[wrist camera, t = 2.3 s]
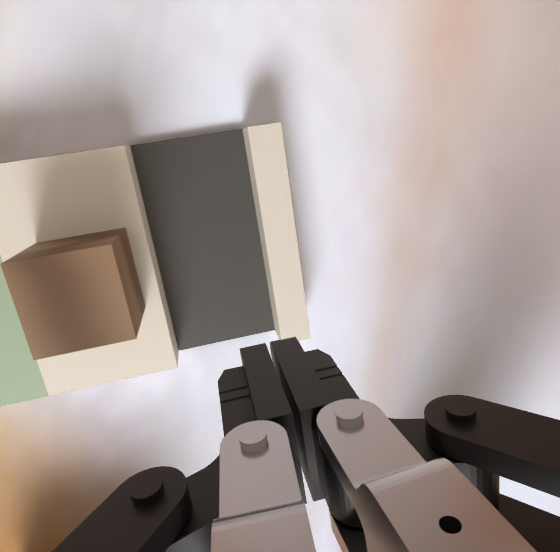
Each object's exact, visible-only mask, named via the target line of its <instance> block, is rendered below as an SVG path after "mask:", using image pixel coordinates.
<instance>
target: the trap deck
mask: <svg viewBox="0 0 560 552" xmlns="http://www.w3.org/2000/svg"><path fill="white" fill-rule="evenodd" d="M125 227H126V231H127V234H128V238H129V242H130V246H131V250H132V254H133V258H134V262H135V266H136V270H137V274H138V278H139V282H140V286H141V290H142V294H143V298H144V302H145V306H146V307H145V311H144V314H143V318H142V321H141V324H140V328H139V331H138V335H137V338H136V339H134V340H129V341H124V342H119V343H115V344H110V345H105V346H100V347H95V348H91V349H86V350H81V351H76V352H71V353H67V354H62V355H57V356H52V357H47V358H43V359H38V360H33V357H32V354H31V352H30V349H29V346H28V343H27V340H26V337H25V334H24V331H23V328H22V326H21V323H20V320H19V317H18V314H17V311H16V308H15V305H14V302H13V300H12V297H11V294H10V291H9V288H8V285H7V282H6V279H5V276H4V274H3V271H2V268H1V265H0V406H5V405H9V404H14V403H19V402H23V401H28V400H32V399H37V398H41V397H46V396H50V395H55V394H59V393H64V392H68V391H73V390H78V389H82V388H87V387H91V386H96V385H100V384H105V383H109V382H114V381H118V380H123V379H127V378H132V377H137V376H141V375H146V374H150V373H155V372H159V371H164V370H168V369H173V368H177V366H178V351H179V350H183V349H188V348H193V347H197V346H202V345H206V344H211V343H216V342H220V341H225V340H230V339H234V338H239V337H244V336H248V335H253V334H258V333H262V332H267V331H272V330H275V331H276V333H277V335H278V337H279V339H280V340H282V339H286V338H291V337H296V338H297V340H298V341H300V340H304V339H309V338H311V337H310V330H309V323H308V315H307V308H306V301H305V294H304V286H303V279H302V272H301V264H300V257H299V250H298V242H297V235H296V228H295V221H294V213H293V206H292V199H291V191H290V184H289V177H288V170H287V162H286V155H285V148H284V140H283V133H282V126H281V122H278V123H272V124H265V125H258V126H251V127H246V128H244V129H240V130H233V131H227V132H220V133H213V134H206V135H200V136H193V137H186V138H179V139H173V140H166V141H159V142H152V143H146V144H139V145H132V146H127V145H123V146H116V147H109V148H102V149H95V150H89V151H82V152H75V153H68V154H62V155H55V156H48V157H41V158H35V159H28V160H21V161H14V162H7V163H1V164H0V264H1V263H3V262H5V261H6V260H8V259H10V258H11V257H13V256H15V255H16V254H18V253H20V252H21V251H23V250H25V249H27V248H28V247H30V246H32V245H33V244H35V243H38V242H44V241H50V240H56V239H61V238H67V237H73V236H79V235H85V234H90V233H96V232H102V231H108V230H113V229H119V228H125Z"/></svg>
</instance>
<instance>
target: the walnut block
mask: <svg viewBox="0 0 560 552" xmlns="http://www.w3.org/2000/svg"><path fill="white" fill-rule="evenodd" d="M0 265H1V268H2V271H3V274H4V276H5V279H6V282H7V285H8V288H9V291H10V294H11V297H12V300H13V302H14V305H15V308H16V311H17V314H18V317H19V320H20V323H21V326H22V328H23V331H24V334H25V337H26V340H27V343H28V346H29V349H30V352H31V354H32V357H33V360H38V359H43V358H47V357H52V356H57V355H62V354H67V353H71V352H76V351H81V350H86V349H91V348H95V347H100V346H105V345H110V344H115V343H119V342H124V341H129V340H134V339H136V338H137V335H138V331H139V328H140V324H141V321H142V318H143V314H144V311H145V307H146V306H145V302H144V298H143V294H142V290H141V286H140V282H139V278H138V274H137V270H136V266H135V262H134V258H133V254H132V250H131V246H130V242H129V238H128V234H127V231H126V227H125V228H119V229H113V230H108V231H102V232H96V233H90V234H85V235H79V236H73V237H67V238H61V239H56V240H50V241H44V242H38V243H35V244H33V245H32V246H30V247H28V248H27V249H25V250H23V251H21V252H20V253H18V254H16V255H15V256H13V257H11V258H10V259H8V260H6V261H5V262H3V263H1V264H0Z"/></svg>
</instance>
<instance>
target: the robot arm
mask: <svg viewBox="0 0 560 552" xmlns="http://www.w3.org/2000/svg"><path fill="white" fill-rule="evenodd" d="M270 349H271V355H272V359H271V357H270V354H269V351H268V349H267V346H266V344H265V343H264V344H259V345H254V346H250V347H245V348H241V349H240V353H241V359H242V364H243V366H240V367H236V368H232V369H227V370H224V372H223V373H222V375H221V377H220V378H219V380H218V388H219V396H220V403H221V404H220V405H221V413H222V422H223V430H224V438H223V440H222V442H221V444H220V454H219V456H218V457H217V458H216V459H215V460H214V461H213V462H212V463H211V464H210V465H208V466H207V467H205V468H204V469H202V470H200V471H199V472H197V473H195V474H193V475H191V476H189V477H187V478H185V476H184V474H183V473H182V472H181V471H179V470H178V469H176V468H173V467H165V466H161V467H154V468H150V469H147V470H144V471H141V472H139V473H137V474H135V475H133V476H132V477H130V478H129V479H127V480H126V481H125V482H124V483H122V484H121V485H120V486H119V487H118V488H117V489H116V490H115V491H114V492H113V493H112V494H111V495H110V496H109V497H108V498H107V499H106V500H105V501H104V502H103V503H102V504H101V505H100V506H99V507H98V508H97V509H96V510H94V511H93V512H92V513H91V514H90V515H89V516H88V517H87V518H86V519H85V520H84V521H83V522H82V523H81V524H80V525H79V526H78V527H77V528H76V529H75V530H74V531H73V532H72V533H71V534H70V535H69V536H68V537H67V538H66V539H65V540H64V541H63V542H61V543H60V544H59V545H58V546H57V547H56V548H55V549H54V550H53V551H52V552H316V550H315V545H314V541H313V537H312V532H311V528H310V524H309V519H308V515H307V511H306V506H305V504H307V502H306V496H305V489H304V483H303V477H302V470H303V473H304V476H305V479H306V482H307V484H308V487H309V490H310V493H311V496H312V499H313V501H317V500H321V499H324V498H325V499H326V502H327V504H328V507H329V513H330V520H331V527H332V530H333V533H334V535H335V537H336V539H337V541H338V543H339V545H340V548H341V550H342V552H560V517H559V516H556V515H554V514H551V513H548V512H546V511H543V510H541V509H538V508H536V507H533V506H530V505H528V504H525V503H523V502H520V501H518V500H515V499H513V498H510V497H507V496H505V495H502V494H500V493H499V476H502V477H505V478H507V479H510V480H513V481H516V482H518V483H521V484H524V485H527V486H529V487H532V488H535V489H538V490H540V491H543V492H546V493H548V494H551V495H554V496H557V497H559V498H560V420H557V419H553V418H549V417H546V416H542V415H538V414H534V413H531V412H527V411H523V410H519V409H516V408H512V407H508V406H504V405H501V404H497V403H493V402H489V401H486V400H482V399H478V398H474V397H470V396H464V395H448V396H442V397H439V398H436V399H434V400H432V401H431V402H430V403H429V404H427V406H426V407H425V411H424V416H425V419H391V418H387V416H386V415H385V414H384V413H383V412H382V411H381V410H380V409H379V408H378V407H377V406H376V405H375V404H373V403H371V402H369V401H365V400H361V399H359V397H358V396H357V394H356V393H355V391H354V390H353V388H352V387H351V386H350V384H349V383H348V381H347V380H346V378H345V377H344V375H342V372H341V371H340V369H339V368H338V367H337V365H336V363H335V362H334V361H333V359H332V358H331V356H330V355H328V354H326V353H324V352H322V351H320V350H318V349H316V350H312V351H307V352H304V350H303V349H302V347H301V345H300V343H299V342H298V340H297V338H296V337H291V338H286V339H282V340H277V341H272V342H270ZM272 361H273V362H272ZM301 467H302V470H301Z"/></svg>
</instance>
